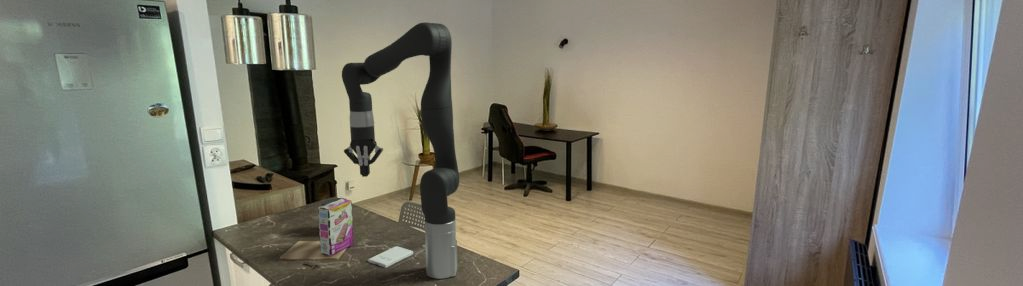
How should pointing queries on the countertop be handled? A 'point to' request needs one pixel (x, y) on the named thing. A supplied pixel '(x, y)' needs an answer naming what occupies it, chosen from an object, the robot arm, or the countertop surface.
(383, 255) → the external hard drive
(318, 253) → the cork mat
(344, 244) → the candy bar box
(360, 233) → the countertop surface
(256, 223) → the countertop surface
